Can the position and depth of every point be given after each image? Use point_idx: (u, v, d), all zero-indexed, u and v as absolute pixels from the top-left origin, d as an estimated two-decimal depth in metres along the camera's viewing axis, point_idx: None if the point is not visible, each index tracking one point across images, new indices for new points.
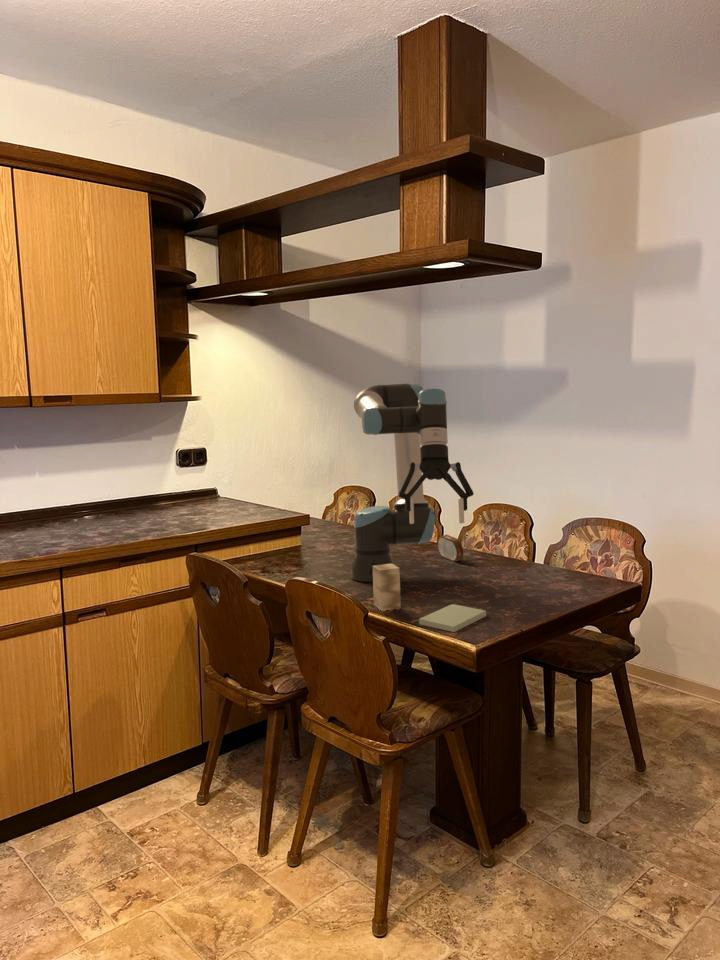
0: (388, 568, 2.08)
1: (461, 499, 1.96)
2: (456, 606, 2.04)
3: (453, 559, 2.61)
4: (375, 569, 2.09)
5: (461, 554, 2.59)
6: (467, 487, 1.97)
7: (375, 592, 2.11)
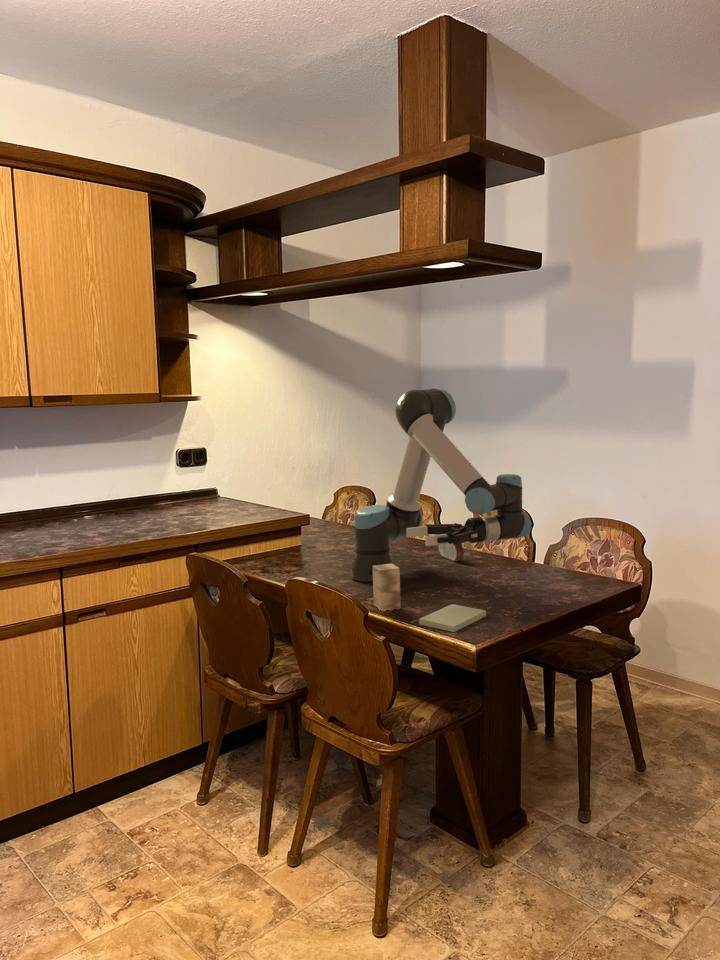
0: (388, 568, 2.08)
1: (426, 534, 2.20)
2: (456, 606, 2.04)
3: (453, 559, 2.61)
4: (375, 569, 2.09)
5: (461, 554, 2.59)
6: None
7: (375, 592, 2.11)
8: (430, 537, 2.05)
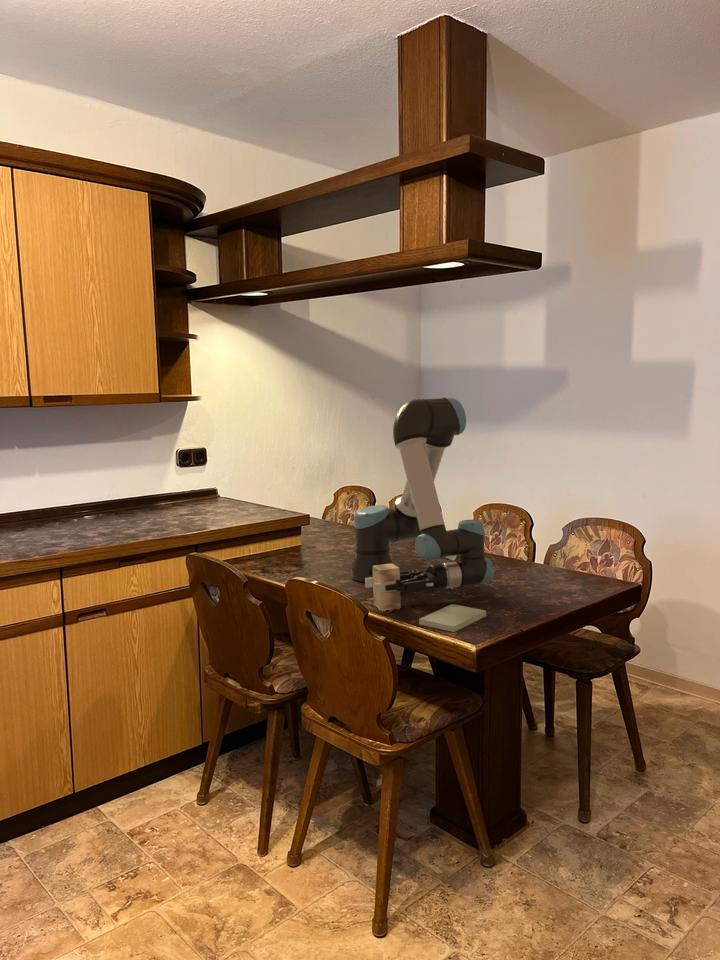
0: (388, 568, 2.08)
1: None
2: (456, 606, 2.04)
3: (453, 559, 2.61)
4: (375, 569, 2.09)
5: None
6: None
7: None
8: (378, 585, 2.05)
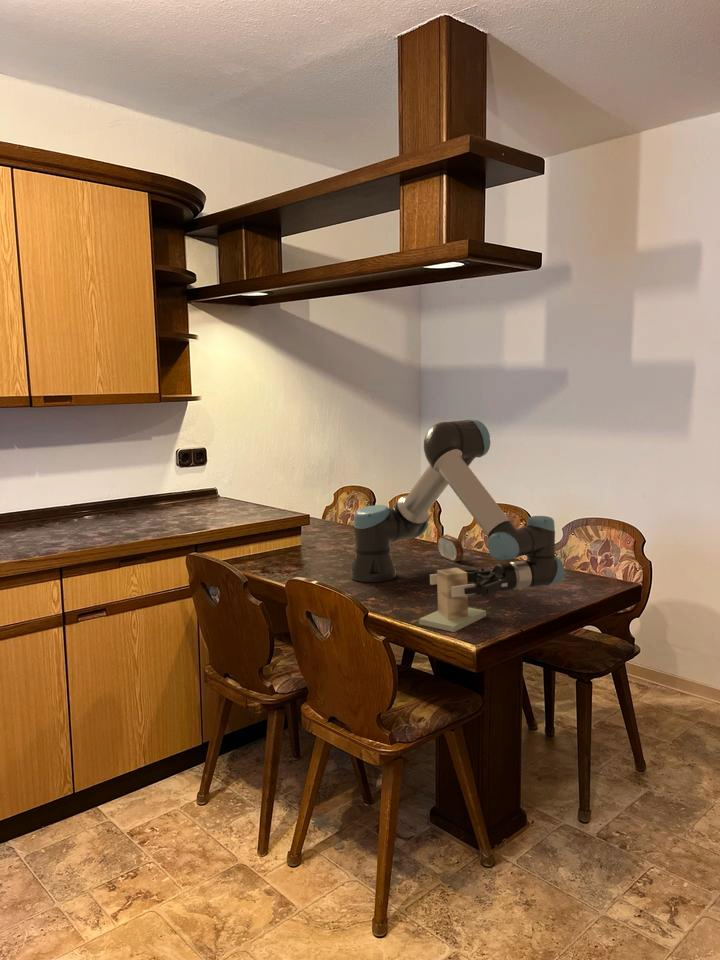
0: (455, 573, 1.94)
1: None
2: None
3: (453, 559, 2.61)
4: (441, 574, 1.95)
5: (461, 554, 2.59)
6: None
7: (440, 599, 1.97)
8: (457, 588, 1.89)
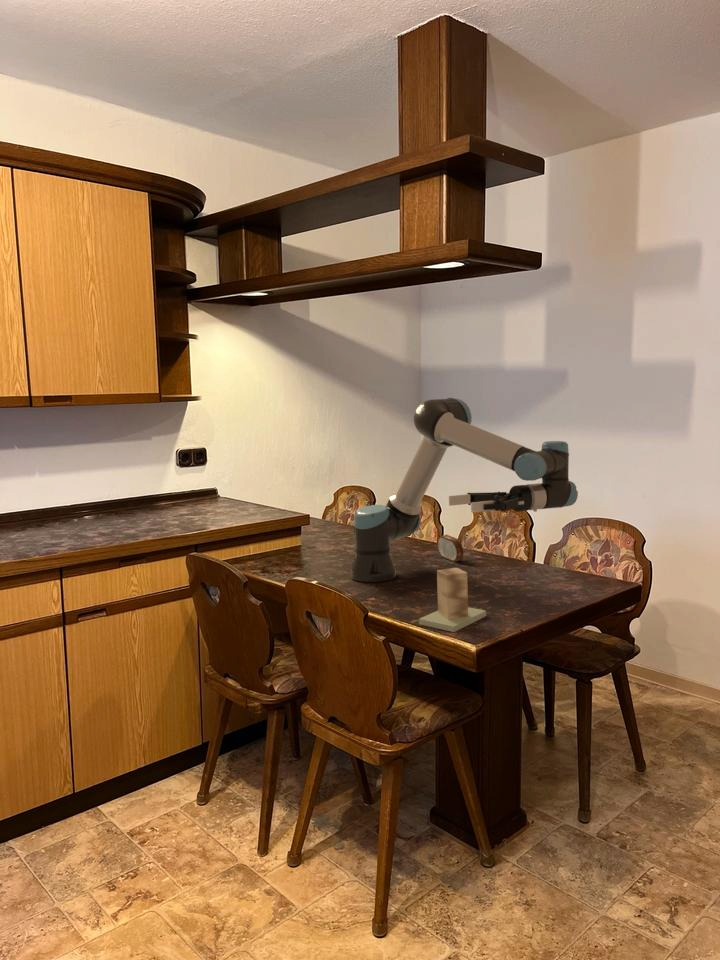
0: (455, 573, 1.94)
1: None
2: None
3: (453, 559, 2.61)
4: (441, 574, 1.95)
5: (461, 554, 2.59)
6: None
7: (440, 599, 1.97)
8: (476, 503, 1.97)
